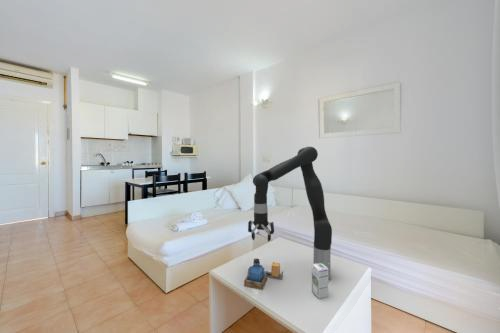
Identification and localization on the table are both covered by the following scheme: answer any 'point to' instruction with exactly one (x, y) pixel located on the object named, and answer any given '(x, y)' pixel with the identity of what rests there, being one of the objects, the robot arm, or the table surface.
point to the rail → (270, 275)
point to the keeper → (255, 283)
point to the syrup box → (320, 280)
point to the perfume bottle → (256, 272)
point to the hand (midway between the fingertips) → (261, 240)
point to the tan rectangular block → (274, 269)
